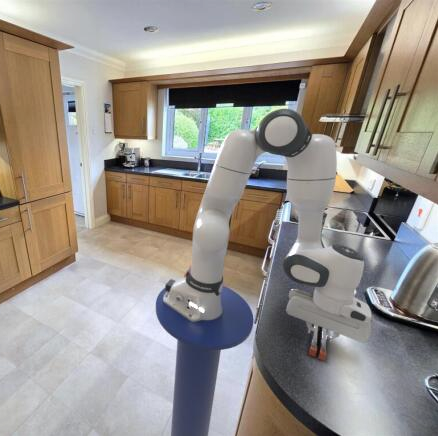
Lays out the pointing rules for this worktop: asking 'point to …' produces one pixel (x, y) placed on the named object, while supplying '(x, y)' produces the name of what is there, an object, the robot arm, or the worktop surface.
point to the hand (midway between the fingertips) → (319, 336)
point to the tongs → (322, 343)
